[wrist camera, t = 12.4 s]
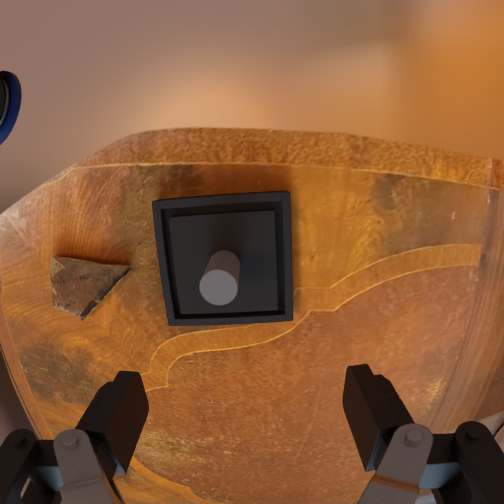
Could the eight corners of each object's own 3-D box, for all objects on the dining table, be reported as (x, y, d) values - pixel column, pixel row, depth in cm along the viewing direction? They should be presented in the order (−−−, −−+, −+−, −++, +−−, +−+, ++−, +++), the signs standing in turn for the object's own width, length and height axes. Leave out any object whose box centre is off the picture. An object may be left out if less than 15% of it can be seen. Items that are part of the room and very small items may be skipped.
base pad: (157, 199, 30) (151, 201, 28) (287, 190, 30) (290, 191, 28) (172, 317, 33) (168, 326, 31) (290, 312, 33) (293, 321, 31)
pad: (171, 215, 30) (148, 228, 23) (273, 208, 30) (281, 220, 23) (182, 309, 32) (166, 343, 25) (277, 305, 32) (284, 340, 25)
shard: (136, 264, 32) (130, 269, 30) (136, 326, 34) (131, 333, 32) (56, 251, 31) (48, 255, 30) (60, 309, 33) (53, 315, 32)
